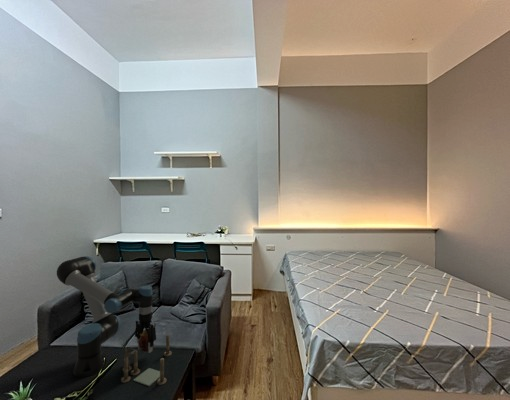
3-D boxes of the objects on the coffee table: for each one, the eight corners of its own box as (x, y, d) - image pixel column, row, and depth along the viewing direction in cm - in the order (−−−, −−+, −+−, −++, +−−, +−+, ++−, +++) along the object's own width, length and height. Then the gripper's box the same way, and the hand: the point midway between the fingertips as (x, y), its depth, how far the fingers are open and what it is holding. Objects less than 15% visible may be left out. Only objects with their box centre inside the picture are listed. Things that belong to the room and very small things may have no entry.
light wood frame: (110, 377, 145) (110, 354, 145) (127, 366, 156) (127, 344, 156) (125, 383, 141) (125, 359, 141) (142, 371, 151) (142, 348, 151)
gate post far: (162, 355, 167) (162, 336, 167) (167, 351, 171) (167, 332, 171) (168, 357, 165) (168, 337, 165) (173, 352, 170) (173, 334, 170)
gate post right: (155, 383, 141) (155, 360, 141) (161, 377, 146) (161, 355, 146) (162, 385, 139) (162, 362, 139) (168, 380, 144) (168, 357, 144)
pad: (133, 380, 143) (133, 379, 143) (149, 368, 153) (149, 367, 153) (149, 386, 139) (149, 385, 139) (164, 373, 149) (164, 372, 149)
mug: (145, 344, 168) (145, 328, 168) (157, 346, 167) (157, 329, 167) (132, 355, 157) (132, 338, 157) (146, 357, 155) (146, 339, 155)
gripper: (128, 311, 162) (127, 349, 162) (153, 318, 154) (153, 357, 154) (138, 307, 169) (137, 343, 169) (163, 313, 161) (162, 350, 161)
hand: (145, 350), depth 162 cm, fingers closed on mug, 7 cm apart
